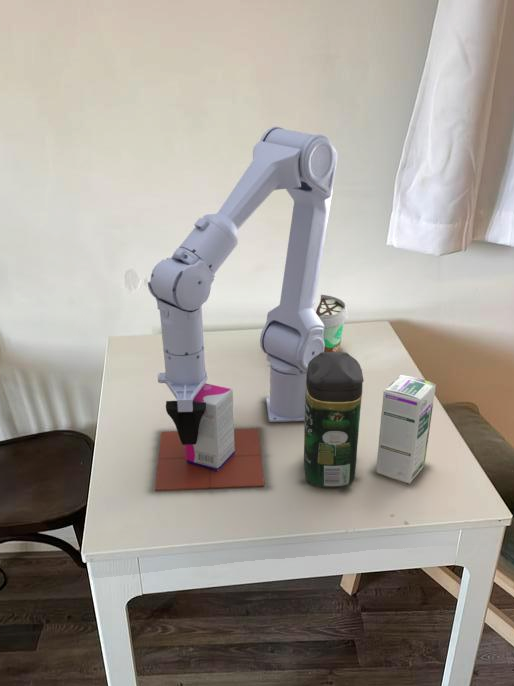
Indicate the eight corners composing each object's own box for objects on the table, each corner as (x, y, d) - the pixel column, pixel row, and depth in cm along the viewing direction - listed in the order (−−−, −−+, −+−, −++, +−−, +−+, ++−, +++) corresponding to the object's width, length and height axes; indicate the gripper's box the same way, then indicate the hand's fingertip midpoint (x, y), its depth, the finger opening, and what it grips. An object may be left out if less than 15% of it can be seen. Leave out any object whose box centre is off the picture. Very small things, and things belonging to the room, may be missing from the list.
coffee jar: (302, 454, 110) (305, 346, 99) (352, 455, 110) (361, 346, 99) (303, 491, 102) (307, 377, 91) (357, 491, 102) (367, 378, 91)
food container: (341, 369, 134) (344, 320, 128) (309, 366, 135) (311, 317, 129) (348, 342, 144) (351, 295, 138) (318, 339, 145) (321, 293, 139)
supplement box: (236, 452, 109) (234, 388, 103) (218, 472, 105) (215, 406, 98) (203, 444, 111) (199, 380, 105) (185, 463, 107) (179, 397, 100)
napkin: (258, 429, 116) (258, 428, 115) (264, 486, 103) (264, 485, 102) (161, 433, 115) (161, 431, 114) (155, 491, 102) (155, 489, 101)
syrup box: (410, 485, 103) (423, 399, 95) (374, 472, 106) (383, 388, 97) (424, 466, 107) (438, 382, 99) (389, 455, 110) (399, 372, 101)
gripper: (158, 326, 103) (165, 406, 111) (151, 371, 91) (160, 457, 99) (205, 325, 103) (209, 405, 111) (205, 369, 92) (210, 455, 100)
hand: (189, 429), depth 105 cm, fingers open, 7 cm apart
